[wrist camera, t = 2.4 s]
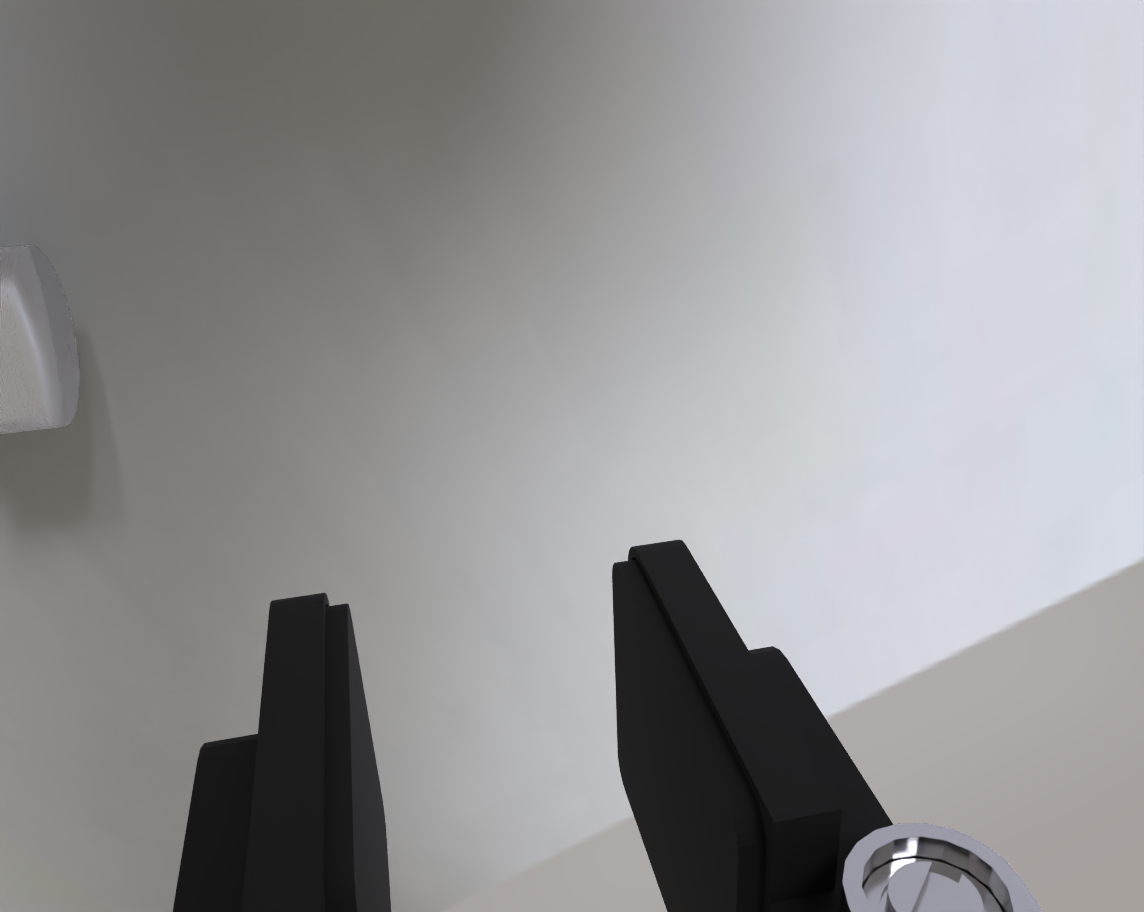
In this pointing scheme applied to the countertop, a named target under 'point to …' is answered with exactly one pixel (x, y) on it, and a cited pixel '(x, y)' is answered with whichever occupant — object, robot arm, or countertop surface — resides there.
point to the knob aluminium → (35, 344)
